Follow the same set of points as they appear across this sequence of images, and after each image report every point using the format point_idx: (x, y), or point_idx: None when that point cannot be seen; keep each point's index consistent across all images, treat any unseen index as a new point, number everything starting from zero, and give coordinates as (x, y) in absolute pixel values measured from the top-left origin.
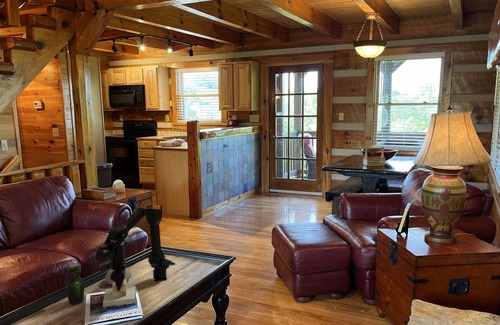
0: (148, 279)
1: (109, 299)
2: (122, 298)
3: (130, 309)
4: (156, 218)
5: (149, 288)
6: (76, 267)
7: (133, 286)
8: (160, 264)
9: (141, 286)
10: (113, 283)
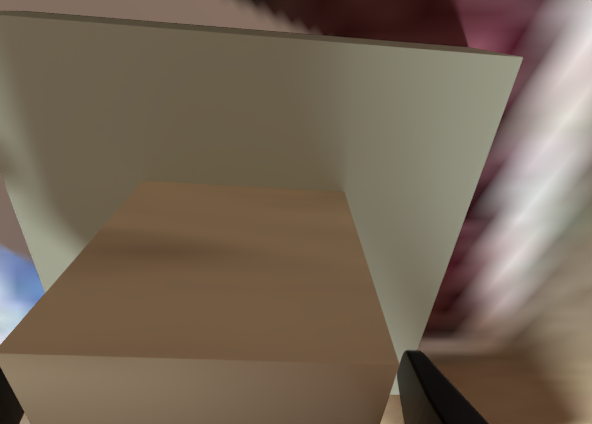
0: (572, 418)
1: (64, 128)
2: None
3: (7, 297)
4: None
5: (392, 416)
6: None
7: (395, 383)
8: None
9: (468, 378)
10: (123, 372)
